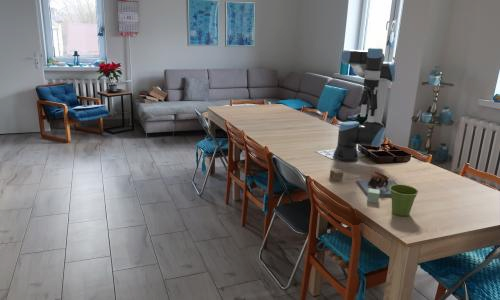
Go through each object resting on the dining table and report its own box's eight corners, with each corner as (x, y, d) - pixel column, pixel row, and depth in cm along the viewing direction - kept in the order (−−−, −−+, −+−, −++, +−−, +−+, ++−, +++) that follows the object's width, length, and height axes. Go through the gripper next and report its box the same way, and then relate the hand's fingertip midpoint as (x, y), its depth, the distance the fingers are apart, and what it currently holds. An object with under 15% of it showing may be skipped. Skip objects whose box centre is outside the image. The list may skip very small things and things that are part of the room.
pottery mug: (363, 183, 208) (370, 169, 208) (378, 191, 209) (386, 177, 209) (373, 186, 196) (381, 171, 196) (389, 195, 197) (397, 180, 197)
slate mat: (356, 182, 212) (356, 179, 212) (393, 183, 213) (394, 180, 212) (367, 196, 195) (367, 193, 194) (407, 197, 196) (408, 194, 195)
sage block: (367, 197, 193) (368, 188, 192) (378, 199, 192) (379, 189, 190) (367, 201, 188) (368, 192, 187) (378, 203, 187) (379, 193, 186)
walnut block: (329, 178, 217) (330, 169, 215) (337, 177, 218) (338, 168, 217) (334, 181, 212) (335, 172, 211) (342, 180, 214) (343, 172, 212)
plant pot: (385, 205, 185) (389, 182, 182) (413, 209, 182) (417, 186, 179) (386, 216, 174) (390, 192, 171) (415, 220, 171) (419, 196, 168)
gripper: (357, 75, 219) (353, 114, 225) (372, 81, 195) (367, 124, 201) (371, 76, 219) (366, 114, 226) (387, 82, 196) (381, 124, 202)
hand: (366, 119), depth 214 cm, fingers open, 13 cm apart
